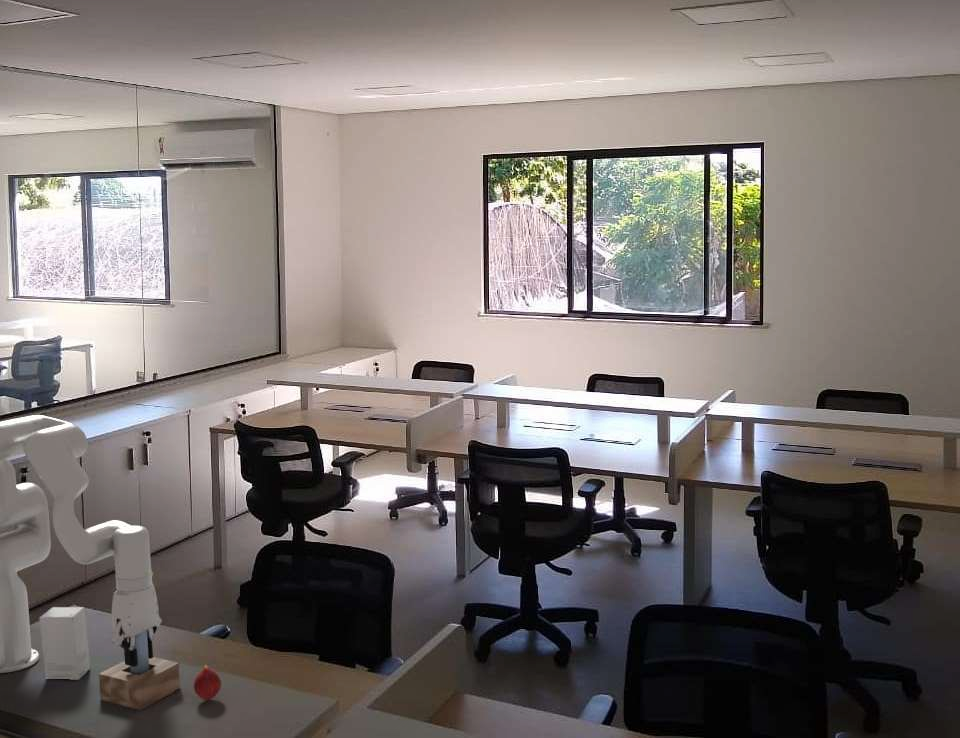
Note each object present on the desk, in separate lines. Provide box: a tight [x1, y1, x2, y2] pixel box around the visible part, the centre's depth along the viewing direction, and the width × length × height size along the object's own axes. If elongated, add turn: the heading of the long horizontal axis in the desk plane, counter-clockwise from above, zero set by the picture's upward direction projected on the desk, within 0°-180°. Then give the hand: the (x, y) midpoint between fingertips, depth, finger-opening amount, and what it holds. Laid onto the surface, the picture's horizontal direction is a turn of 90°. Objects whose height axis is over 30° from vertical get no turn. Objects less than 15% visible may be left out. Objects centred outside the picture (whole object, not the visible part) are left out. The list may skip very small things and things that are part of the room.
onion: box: [193, 665, 222, 702], centre depth 229 cm, size 6×6×8 cm
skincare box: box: [39, 606, 91, 681], centre depth 242 cm, size 8×7×16 cm
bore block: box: [98, 656, 181, 711], centre depth 233 cm, size 12×12×6 cm
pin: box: [127, 630, 149, 675], centre depth 232 cm, size 4×4×14 cm
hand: (139, 660), depth 232 cm, fingers closed on pin, 4 cm apart
